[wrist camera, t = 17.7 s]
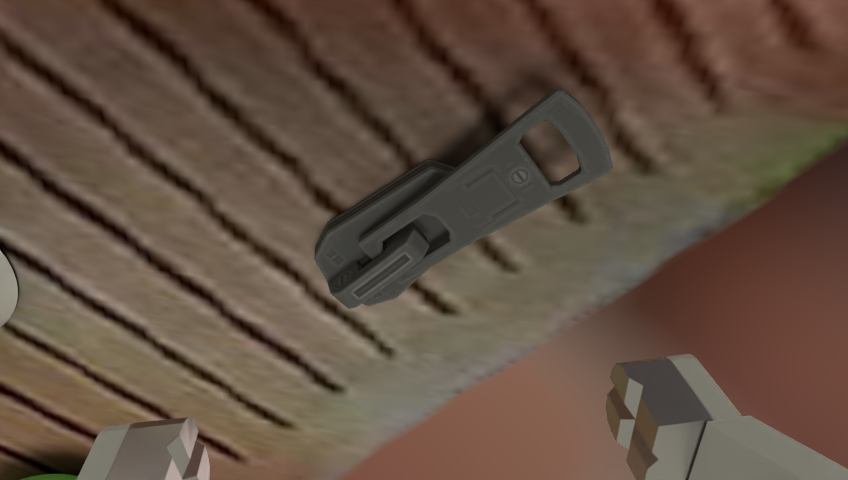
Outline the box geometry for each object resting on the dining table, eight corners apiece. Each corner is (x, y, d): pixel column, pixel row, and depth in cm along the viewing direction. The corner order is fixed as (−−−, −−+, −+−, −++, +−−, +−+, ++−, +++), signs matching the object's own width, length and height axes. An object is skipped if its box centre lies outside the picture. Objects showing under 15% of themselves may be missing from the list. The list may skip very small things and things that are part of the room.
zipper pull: (627, 170, 40) (370, 351, 46) (592, 138, 46) (367, 303, 52) (566, 76, 36) (293, 288, 42) (537, 53, 42) (299, 243, 48)
